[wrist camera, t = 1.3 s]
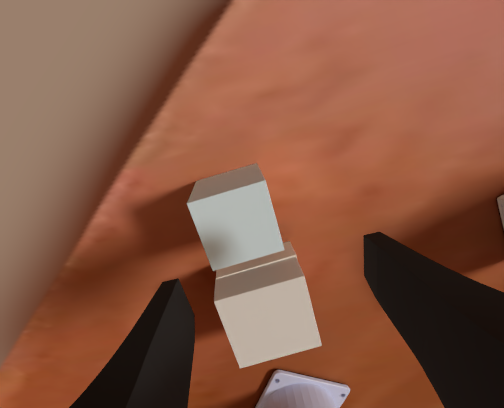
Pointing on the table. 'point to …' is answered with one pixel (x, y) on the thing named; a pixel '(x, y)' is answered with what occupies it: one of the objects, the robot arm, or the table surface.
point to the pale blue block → (235, 217)
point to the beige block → (267, 312)
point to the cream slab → (258, 261)
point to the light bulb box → (501, 207)
